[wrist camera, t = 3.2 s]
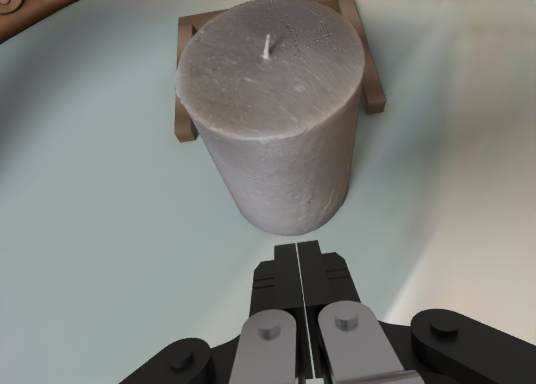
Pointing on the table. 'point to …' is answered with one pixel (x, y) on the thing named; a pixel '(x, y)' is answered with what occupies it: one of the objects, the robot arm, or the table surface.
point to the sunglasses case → (25, 14)
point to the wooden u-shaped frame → (340, 3)
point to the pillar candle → (277, 107)
